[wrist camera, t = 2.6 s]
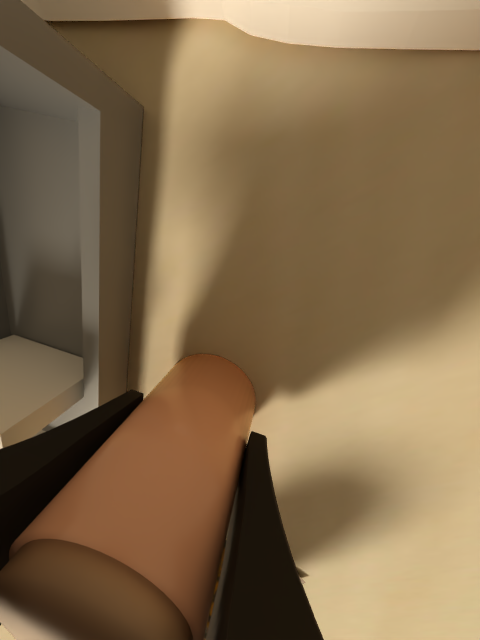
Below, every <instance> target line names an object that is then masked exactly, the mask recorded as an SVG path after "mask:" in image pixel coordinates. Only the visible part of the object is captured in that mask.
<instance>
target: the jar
mask: <svg viewBox="0 0 480 640" xmlns="http://www.w3.org/2000/svg"><path fill="white" fill-rule="evenodd" d="M255 402H256V398H255V392H254V388H253V386H252V384H251V382H250V380H249V378H248V377H247V376H246V374H245V373H244V372H243V371H242V370H241V369H240V368H239V367H238V366H236V365H235V364H234V363H232V362H231V361H229V360H227V359H225V358H222V357H219V356H216V355H211V354H195V355H191V356H188V357H186V358H184V359H182V360H180V361H179V362H178V363H177V364H176V365H175V366H174V367H173V368H172V369H171V370H170V371H169V372H168V374H167V375H166V376H165V377H164V378H163V379H162V380H161V381H160V382H159V383H158V384H157V386H156V387H155V388H154V389H153V390H152V391H151V392H150V393H149V394H148V395H147V397H146V398H145V399H144V400H143V401H142V402H141V403H140V404H139V405H138V406H137V407H136V409H135V410H134V411H133V412H132V413H131V414H130V415H129V416H128V417H127V418H126V420H125V421H124V422H123V423H122V424H121V425H120V426H119V427H118V428H117V429H116V430H115V432H114V433H113V434H112V435H111V436H110V437H109V438H108V439H107V440H106V441H105V443H104V444H103V445H102V446H101V447H100V448H99V449H98V450H97V451H96V452H95V453H94V455H93V456H92V457H91V458H90V459H89V460H88V461H87V462H86V463H85V464H84V466H83V467H82V468H81V469H80V470H79V471H78V472H77V473H76V474H75V475H74V476H73V478H72V479H71V480H70V481H69V482H68V483H67V484H66V485H65V486H64V487H63V489H62V490H61V491H60V492H59V493H58V494H57V495H56V496H55V497H54V498H53V500H52V501H51V502H50V503H49V504H48V505H47V506H46V507H45V508H44V509H43V510H42V512H41V513H40V514H39V515H38V516H37V517H36V518H35V519H34V520H33V521H32V523H31V524H30V525H29V526H28V527H27V528H26V529H25V530H24V531H23V532H22V533H21V535H20V536H19V537H18V538H17V539H16V540H15V541H14V543H13V544H12V545H11V548H10V551H9V562H8V563H7V564H6V565H5V566H4V567H3V568H2V570H1V571H0V623H1V624H2V625H3V626H4V628H5V629H6V630H7V631H8V632H9V633H10V634H11V635H12V636H13V637H14V638H15V639H16V640H204V635H205V631H206V626H207V622H208V617H209V613H210V608H211V604H212V599H213V595H214V590H215V586H216V581H217V577H218V572H219V567H220V563H221V558H222V554H223V549H224V545H225V540H226V536H227V531H228V527H229V522H230V518H231V513H232V509H233V504H234V499H235V495H236V490H237V486H238V481H239V477H240V472H241V468H242V463H243V459H244V454H245V450H246V445H247V441H248V436H249V431H250V427H251V422H252V418H253V413H254V409H255Z"/></svg>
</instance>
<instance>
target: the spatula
mask: <svg viewBox="0 0 480 640" xmlns="http://www.w3.org/2000/svg"><path fill="white" fill-rule="evenodd" d="M21 1H22V2H23V3H24V4H26V5H27V6H28V7H29V8H30V9H31V10H32V11H34V12H35V13H36V14H37V15H38V16H39V17H40V18H42V19H43V20H46V21H110V20H148V19H178V18H200V19H214V20H225V21H227V22H228V23H230V24H232V25H234V26H235V27H237V28H239V29H241V30H242V31H244V32H246V33H248V34H249V35H251V36H256V37H261V38H265V39H270V40H274V41H279V42H284V43H289V44H300V45H312V46H323V47H335V48H374V49H426V50H480V0H21Z"/></svg>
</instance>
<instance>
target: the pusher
mask: <svg viewBox="0 0 480 640" xmlns="http://www.w3.org/2000/svg"><path fill="white" fill-rule="evenodd" d="M83 397H84V372H83V358H82V357H79V356H76V355H73V354H70V353H67V352H64V351H61V350H58V349H55V348H52V347H49V346H46V345H43V344H40V343H37V342H34V341H31V340H28V339H25V338H22V337H20V336H17V335H11V336H9V337H6V338H3V339H0V449H2V448H4V447H7V446H10V445H13V444H16V443H19V442H21V441H24V440H26V439H29V438H31V437H33V436H34V435H35V434H37V433H38V432H39V431H40V430H42V429H43V428H44V427H46V426H47V425H48V424H50V423H51V422H52V421H53V420H55V419H56V418H57V417H59V416H60V415H61V414H63V413H64V412H65V411H66V410H68V409H69V408H70V407H72V406H73V405H74V404H76V403H77V402H78V401H79V400H81V399H82V398H83Z"/></svg>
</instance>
